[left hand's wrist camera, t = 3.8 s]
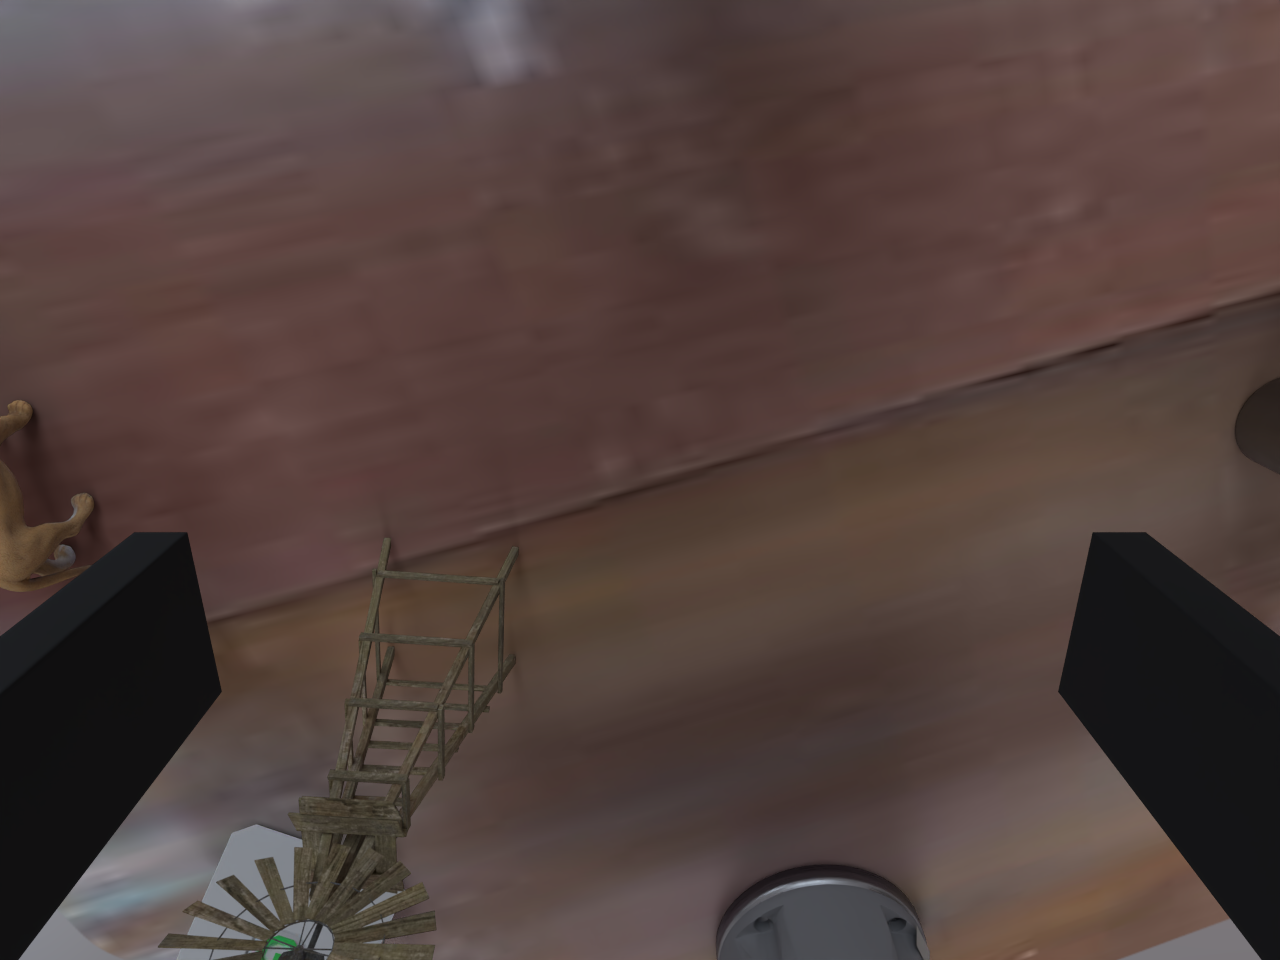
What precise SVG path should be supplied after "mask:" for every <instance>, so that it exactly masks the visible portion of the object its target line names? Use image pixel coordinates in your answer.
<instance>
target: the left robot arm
mask: <svg viewBox="0 0 1280 960" xmlns="http://www.w3.org/2000/svg"><path fill="white" fill-rule="evenodd" d="M221 692H222V691H221V686H220V681H219V677H218V672H217V668H216V663H215V658H214V654H213V649H212V645H211V640H210V635H209V631H208V626H207V621H206V617H205V612H204V608H203V603H202V598H201V594H200V589H199V584H198V580H197V575H196V571H195V566H194V561H193V557H192V552H191V548H190V543H189V538H188V534H187V532H134V533H133V534H132V535H130V536H129V537H128V538H127V539H125V540H124V541H123V542H121V543H120V544H119V545H118V546H116V547H115V548H114V549H112V550H111V551H110V552H108V553H107V554H106V555H105V556H103V557H102V558H101V559H99V560H98V561H97V562H96V563H94V564H93V565H92V566H90V567H89V568H88V569H87V570H85V571H84V572H83V573H81V574H80V575H79V576H78V577H76V578H75V579H74V580H72V581H71V582H70V583H69V584H67V585H66V586H65V587H63V588H62V589H61V590H59V591H58V592H57V593H56V594H54V595H53V596H52V597H50V598H49V599H48V600H47V601H45V602H44V603H43V604H41V605H40V606H39V607H38V608H36V609H35V610H34V611H32V612H31V613H30V614H29V615H27V616H26V617H25V618H23V619H22V620H21V621H20V622H18V623H17V624H16V625H14V626H13V627H12V628H10V629H9V630H8V631H7V632H5V633H4V634H3V635H1V636H0V960H19V958H20V957H21V956H22V954H23V953H24V952H25V950H26V949H27V948H28V946H29V945H30V944H31V942H32V941H33V940H34V938H35V937H36V936H37V934H38V933H39V932H40V931H41V929H42V928H43V927H44V925H45V924H46V923H47V921H48V920H49V919H50V917H51V916H52V915H53V913H54V912H55V911H56V909H57V908H58V907H59V906H60V904H61V903H62V902H63V900H64V899H65V898H66V896H67V895H68V894H69V892H70V891H71V890H72V888H73V887H74V886H75V884H76V883H77V882H78V880H79V879H80V878H81V877H82V875H83V874H84V873H85V871H86V870H87V869H88V867H89V866H90V865H91V863H92V862H93V861H94V859H95V858H96V857H97V855H98V854H99V853H100V851H101V850H102V849H103V848H104V846H105V845H106V844H107V842H108V841H109V840H110V838H111V837H112V836H113V834H114V833H115V832H116V830H117V829H118V828H119V826H120V825H121V824H122V822H123V821H124V820H125V819H126V817H127V816H128V815H129V813H130V812H131V811H132V809H133V808H134V807H135V805H136V804H137V803H138V801H139V800H140V799H141V797H142V796H143V795H144V793H145V792H146V791H147V790H148V788H149V787H150V786H151V784H152V783H153V782H154V780H155V779H156V778H157V776H158V775H159V774H160V772H161V771H162V770H163V768H164V767H165V766H166V764H167V763H168V762H169V761H170V759H171V758H172V757H173V755H174V754H175V753H176V751H177V750H178V749H179V747H180V746H181V745H182V743H183V742H184V741H185V739H186V738H187V737H188V735H189V734H190V733H191V732H192V730H193V729H194V728H195V726H196V725H197V724H198V722H199V721H200V720H201V718H202V717H203V716H204V714H205V713H206V712H207V710H208V709H209V708H210V706H211V705H212V704H213V703H214V701H215V700H216V699H217V697H218V696H219V695H220V693H221ZM1058 692H1059V693H1060V695H1061V696H1062V697H1063V699H1064V700H1065V701H1066V703H1067V704H1068V705H1069V706H1070V708H1071V709H1072V710H1073V712H1074V713H1075V714H1076V716H1077V717H1078V718H1079V720H1080V721H1081V722H1082V724H1083V725H1084V726H1085V728H1086V729H1087V730H1088V732H1089V733H1090V734H1091V735H1092V737H1093V738H1094V739H1095V741H1096V742H1097V743H1098V745H1099V746H1100V747H1101V749H1102V750H1103V751H1104V753H1105V754H1106V755H1107V757H1108V758H1109V759H1110V761H1111V762H1112V763H1113V764H1114V766H1115V767H1116V768H1117V770H1118V771H1119V772H1120V774H1121V775H1122V776H1123V778H1124V779H1125V780H1126V782H1127V783H1128V784H1129V786H1130V787H1131V788H1132V790H1133V791H1134V792H1135V793H1136V795H1137V796H1138V797H1139V799H1140V800H1141V801H1142V803H1143V804H1144V805H1145V807H1146V808H1147V809H1148V811H1149V812H1150V813H1151V815H1152V816H1153V817H1154V819H1155V820H1156V821H1157V822H1158V824H1159V825H1160V826H1161V828H1162V829H1163V830H1164V832H1165V833H1166V834H1167V836H1168V837H1169V838H1170V840H1171V841H1172V842H1173V844H1174V845H1175V846H1176V848H1177V849H1178V850H1179V851H1180V853H1181V854H1182V855H1183V857H1184V858H1185V859H1186V861H1187V862H1188V863H1189V865H1190V866H1191V867H1192V869H1193V870H1194V871H1195V873H1196V874H1197V875H1198V877H1199V878H1200V879H1201V880H1202V882H1203V883H1204V884H1205V886H1206V887H1207V888H1208V890H1209V891H1210V892H1211V894H1212V895H1213V896H1214V898H1215V899H1216V900H1217V902H1218V903H1219V904H1220V906H1221V907H1222V908H1223V909H1224V911H1225V912H1226V913H1227V915H1228V916H1229V917H1230V919H1231V920H1232V921H1233V923H1234V924H1235V925H1236V927H1237V928H1238V929H1239V931H1240V932H1241V933H1242V934H1243V936H1244V937H1245V938H1246V940H1247V941H1248V942H1249V944H1250V945H1251V946H1252V948H1253V949H1254V950H1255V952H1256V953H1257V954H1258V956H1259V957H1260V958H1261V960H1280V636H1279V635H1277V634H1276V633H1275V632H1273V631H1272V630H1271V629H1270V628H1268V627H1267V626H1266V625H1264V624H1263V623H1262V622H1260V621H1259V620H1258V619H1257V618H1255V617H1254V616H1253V615H1251V614H1250V613H1249V612H1248V611H1246V610H1245V609H1244V608H1242V607H1241V606H1240V605H1239V604H1237V603H1236V602H1235V601H1233V600H1232V599H1231V598H1230V597H1228V596H1227V595H1226V594H1224V593H1223V592H1222V591H1221V590H1219V589H1218V588H1217V587H1215V586H1214V585H1213V584H1211V583H1210V582H1209V581H1208V580H1206V579H1205V578H1204V577H1202V576H1201V575H1200V574H1199V573H1197V572H1196V571H1195V570H1193V569H1192V568H1191V567H1190V566H1188V565H1187V564H1186V563H1184V562H1183V561H1182V560H1181V559H1179V558H1178V557H1177V556H1175V555H1174V554H1173V553H1172V552H1170V551H1169V550H1168V549H1166V548H1165V547H1164V546H1162V545H1161V544H1160V543H1159V542H1157V541H1156V540H1155V539H1153V538H1152V537H1151V536H1150V535H1148V534H1147V533H1146V532H1093V534H1092V538H1091V543H1090V548H1089V552H1088V557H1087V561H1086V566H1085V571H1084V575H1083V580H1082V584H1081V589H1080V594H1079V598H1078V603H1077V608H1076V612H1075V617H1074V621H1073V626H1072V631H1071V635H1070V640H1069V645H1068V649H1067V654H1066V658H1065V663H1064V668H1063V672H1062V677H1061V681H1060V686H1059V691H1058ZM716 954H717V960H930V951H929V949H928V947H927V943H926V939H925V936H924V932H923V930H922V927H921V924H920V921H919V919H918V916H917V913H916V911H915V909H914V907H913V905H912V904H911V902H910V901H909V899H908V898H907V897H906V896H905V895H904V893H902V892H901V891H900V890H899V889H898V888H897V887H896V886H894V885H893V884H892V883H890V882H889V881H887V880H885V879H884V878H882V877H880V876H877V875H875V874H873V873H870V872H867V871H864V870H861V869H857V868H852V867H847V866H839V865H813V866H804V867H799V868H794V869H790V870H787V871H783V872H780V873H778V874H775V875H773V876H770V877H768V878H766V879H764V880H762V881H760V882H758V883H757V884H755V885H754V886H752V887H750V888H749V889H748V890H746V891H745V892H744V893H743V894H741V895H740V896H739V897H738V898H737V899H736V900H735V901H734V903H733V904H732V905H731V906H730V907H729V909H728V910H727V912H726V913H725V915H724V917H723V919H722V920H721V923H720V926H719V928H718V932H717V938H716Z"/></svg>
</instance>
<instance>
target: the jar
mask: <svg viewBox="0 0 1280 960" xmlns="http://www.w3.org/2000/svg"><path fill="white" fill-rule="evenodd" d="M1235 434H1236V440H1237V444H1238V446H1239V448H1240V450H1241V451H1242V453H1243V454H1244V455H1245V456H1246V457H1248V458H1249V459H1251V460H1253V461H1254V462H1256V463H1258V464H1260V465H1262V466H1264V467H1266V468H1268V469H1270V470H1272V471H1274V472H1276V473H1277V474H1279V475H1280V378H1277V379H1275V380H1273V381H1271V382H1269V383H1267V384H1265V385H1264V386H1262V387H1261V388H1259V389H1258V390H1257V391H1256V392H1255V393H1254V394H1253V395H1252V396H1251V397H1250V398H1249V399H1248V400H1247V401H1246V403H1245V404H1244V406H1243V407H1242V409H1241V411H1240V413H1239V416H1238V418H1237V422H1236V429H1235Z"/></svg>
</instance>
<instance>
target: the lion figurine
mask: <svg viewBox="0 0 1280 960" xmlns="http://www.w3.org/2000/svg"><path fill="white" fill-rule="evenodd" d="M8 410H9V414H8V415H7V416H0V445H1V444H2V442H3V441H4V440H5V439H6V438H7V437H9V436H10V435H12V434H13V433H15V432H16V431H18V430H21V429H22V428H23V427H24V426H25V425H26V424H27V423H28V422H29V420H30V419H31V417H32V413H33V410H32V407H31V405H30V404H28V403H27V402H25V401H21V400H16V401H13V402H12V403H11V404H9V405H8ZM71 504H72V506H73V508H74V513H73V515H72V517H71V518H70V519H69V520H67V521H65V522H58V523H45V524H42V525H39V526H36V527H28V526H27V525H26V524H25V522H24V505H23V496H22V491H21V489H20V487H19V484H18V482H17V480H16V478H15V476H14V475H13V473H12V472H11V470H10V469H9V468H8V467H7V466H6V464H5V463H4V462H3V461H2V460H1V459H0V587H1V588H3V589H7V590H10V591H17V592H25V591H34V590H38V589H41V588H44V587H48V586H50V585H53V584H56V583H59V582H61V581H64V580H67V579H69V578H72V577H75V576H79V575H80V574H81V573H83V572H84V571H85V570H87V569H88V568H89V567H90V566H92V565H87V566H82V567H77V568H72V569H69V570H66V569H68V568H69V567H71V566H72V565H73V564H74V562H75V559H76V555H75V552H74V551H73V549H72V548H71V547H70V546H67V545H59V544H60V542H62V541H63V540H64V539H66V538H69V537H73V536H76V535H77V534H78V533H79V532H80V530H81V527H82V526H83V524H84V522H85V520H86V519H87V518H88V516H89V515H90V514H91V512H92V511H93V508H94V500H93V497H92V496H90V495H89V494H87V493H80V494H77V495H75V496H74V497H72V499H71ZM58 545H59V546H58ZM54 550H55V551H54ZM53 551H54V557H55V559H56V560H50V559H48V557H49V556H50V555H51V554H52V553H53ZM63 570H65V571H63ZM32 573H35V574H39V575H41V577H37V578H33V579H30V575H31V574H32Z"/></svg>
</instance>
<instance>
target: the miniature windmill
mask: <svg viewBox="0 0 1280 960" xmlns="http://www.w3.org/2000/svg"><path fill="white" fill-rule="evenodd" d="M390 548H391V538H384V541H383V545H382V550H381V555H380V560H379V564H378V569H373V570H372V575H373V593H372V598H371V603H370V607H369V612H368V617H367V622H366V626H365V631H364V633H361V634H360V636H359V660H358V665H357V669H356V674H355V679H354V684H353V689H352V693H351V698H350V699H346V700H345V721H346V722H345V727H344V731H343V736H342V741H341V746H340V751H339V755H338V760H337V765H336V770H330V772H329V774H328V780H329V792H330V798H325V797H309V796H302V798H299V810H300V813H288V816H289V817H290V819H291V821H292V823H293V825H294V826H295V828H296V830H297V831H301V833H302V844H303V847H294V885H293V886H289V887H286V888H284V886H283V883H282V880H281V878H280V875H279V872H278V869H277V866H276V864H275V861H274V858H273V857H269V858H263V859H258V860H254V862H255V864H256V866H257V869H258V871H259V873H260V876H261V878H262V880H263V883H264V885H265V887H266V889H267V892H268V895H267V896H265V897H263V898H261V899H258V898H257V897H256V896H255V895H254V894H253V893H252V892H251V891H250V890H249V889H248V888H247V887H246V886H245V885H244V884H243V883H242V882H241V881H240V880H239V879H238V878H237V877H236V876H235V875H231V876H229V877H227V878H224V879H222V880H219V881H217V882H216V883H217V884H218V885H219V886H220V887H221V888H223V889H224V890H225V891H226V892H227V893H228V894H229V895H230V896H232V897H233V898H234V899H235V900H236V901H237V902H238V903H240V904H241V905H242V906H243V907H244V908H245V910H243V911H242V912H241V913H240V914H239V915H238V916H234V915H231V914H229V913H226V912H224V911H222V910H219V909H217V908H214V907H212V906H210V905H207V904H205V903H202V902H200V901H197V902H195V903H194V904H192V905H191V906H189V907H188V908H186V909H185V910H184V911H183V912H184V913H187V914H190V915H192V916H195V917H198V918H201V919H204V920H206V921H209V922H212V923H215V924H218V925H220V926H223V927H226V928H225V930H224V931H223V932H222V934H221V935H220V937H207V936H194V935H181V934H168V935H167V936H166V937H165V939H164V940H163V941H162V942H161V943H160V945H159V946H158V948H186V949H212V952H211V955H210V958H209V960H211V957H212V954H213V951H214V950H242V951H258V952H252V953H247V954H241V955H236V956H230V957H225V958H220V959H214V960H264V957H263V956H264V953H265V949H284V950H291V951H286V952H283V953H282V954H281V955H280V957H279V958H278V960H325V959H324V956H327V959H326V960H432V958H433V953H434V948H435V945H415V944H384V941H385V939H389V938H394V937H400V936H406V935H411V934H417V933H423V932H429V931H434V930H436V921H435V911H431V912H426V913H422V914H418V915H413V916H409V917H405V918H400V919H396V920H392V921H387V922H383V918H385V917H387V916H390V915H392V914H394V913H397V912H399V911H401V910H404V909H406V908H408V907H411V906H413V905H415V904H418V903H420V902H422V901H425V900H427V899H429V896H428V894H427V892H426V890H425V888H424V885H423V883H422V882H421V883H419V884H417V885H415V886H413V887H411V888H409V889H407V890H405V891H404V885H403V879H404V878H406V877H407V876H409V875H410V874H411V873H410V871H409V870H408V869H407V868H406V867H405V866H404V865H403V864H402V863H401V862H400V861H399V862H397V854H396V838H397V837H406V836H407V832H408V830H409V828H410V826H411V823H410V817H411V816H412V814H413V813H414V811H415V810H416V808H417V807H418V806H419V804H420V803H421V801H422V800H423V798H424V797H425V795H426V794H427V792H428V791H429V789H430V788H431V786H432V785H433V784H434V782H435V781H436V779H437V778H438V780H441V781H442V780H443V778H444V776H445V766H446V764H447V763H448V761H449V760H450V759H451V757H452V756H453V754H454V753H455V752H458V749H459V745H460V744H461V742H462V741H463V739H464V738H465V737H466V735H467V734H468V732H469V733H472V731H473V729H474V723H475V722H476V720H477V719H478V717H479V716H480V715H481V713H482V712H489V710H490V706H487V704H488V703H489V701H490V700H491V698H492V697H493V695H494V694H495V692H496V691H497V690H498V693H501V692H502V685H503V681H504V679H505V678H506V676H507V675H508V673H509V672H510V670H511V669H512V668H513V666H514V665H515V655H512V654H509V656H508V657H507V659H506V660H505V662H504V663H503V640H504V595H505V581H506V579H507V577H508V575H509V573H510V571H511V569H512V567H513V565H514V563H515V561H516V559H517V557H518V551H519V548H518V547H513V546H512V548H511V550H510V552H509V554H508V556H507V558H506V560H505V562H504V564H503V566H502V568H501V570H500V572H499V574H498V576H497V578H486V577H472V576H457V575H443V574H428V573H414V572H399V571H386V568H387V563H388V558H389V553H390ZM384 578H398V579H412V580H427V581H441V582H456V583H470V584H485V585H493V586H492V588H491V590H490V592H489V594H488V596H487V598H486V600H485V602H484V604H483V606H482V608H481V610H480V612H479V614H478V616H477V618H476V620H475V622H474V624H473V626H472V628H471V630H470V632H469V634H468V636H467V638H466V639H451V638H436V637H421V636H406V635H391V634H379V612H378V608H379V603H380V598H381V593H382V588H383V583H384ZM499 593H500V596H499V647H498V671H497V673H496V674H495V676H494V677H493V679H492V680H491V681H490V683H489V684H488V686H483V685H474V644H475V642H476V640H477V638H478V636H479V633H480V631H481V629H482V627H483V625H484V623H485V621H486V619H487V617H488V615H489V613H490V611H491V609H492V607H493V605H494V603H495V601H496V599H497V597H498V595H499ZM374 629H375V633H374ZM372 641H375V646H376V670H377V685H376V688H375V691H374V694H373V698H372V699H368V698H367V694H366V669H367V664H368V659H369V654H370V649H371V644H372ZM380 642H391V643H406V644H421V645H436V646H451V647H462V648H461V649H460V651H459V653H458V655H457V657H456V659H455V661H454V663H453V665H452V667H451V669H450V671H449V673H448V675H447V677H446V679H445V681H444V683H437V682H422V681H406V680H391V679H388V676H389V673H390V669H391V666H392V662H393V659H394V655H395V653H394V646H392V647H388V648H387V652H386V655H385V658H384V661H383V665H382V668H381V661H380ZM468 656H469V671H468V684H455V682H456V680H457V678H458V676H459V674H460V672H461V670H462V668H463V666H464V664H465V662H466V660H467V658H468ZM386 685H393V686H408V687H424V688H439V689H440V691H439V693H438V695H437V697H436V699H435V701H434V703H433V702H417V701H402V700H386V699H382V697H383V694H384V690H385V687H386ZM452 689H454V690H468V705H464V704H448V703H445V702H446V700H447V698H448V696H449V694H450V692H451V690H452ZM474 691H483V693H482V694H481V696H480V697H479V698H478V700H477V701H476V703H475V704H474ZM361 695H362V698H361ZM359 707H362V715H363V726H364V728H363V731H362V734H361V737H360V741H359V744H358V747H357V751H356V754H355V757H354V759H353V741H352V739H353V734H354V729H355V724H356V719H357V714H358V709H359ZM367 708H369V711H368V714H367ZM379 708H381V709H397V710H413V711H428V712H429V713H428V715H427V717H426V719H425V721H424V722H422V721H404V720H386V719H376V718H377V715H378V711H379ZM444 710H459V711H468V714H467V716H466V717H465V718H464V720H463V721H462V723H461V724H459V723H444ZM437 718H438V722H436V720H437ZM374 726H390V727H409V728H421V729H420V731H419V733H418V735H417V737H416V739H415V741H414V743H406V742H386V741H370V739H371V735H372V732H373V729H374ZM432 729H438V744H425V742H426V740H427V738H428V736H429V734H430V732H431V730H432ZM444 729H445V730H456V731H455V733H454V734H453V735H452V737H451V738H450V740H449V741H448V743H447V744H446V745H445V735H444ZM368 748H381V749H401V750H410V751H409V753H408V755H407V757H406V759H405V761H404V762H403V764H402V766H382V765H363V763H364V760H365V756H366V753H367V749H368ZM421 751H438V757H437V758H436V760H435V761H434V762H433V764H432V765H431V767H430V768H426V767H414V765H415V763H416V761H417V759H418V757H419V755H420V753H421ZM347 765H348V771H346V770H347ZM409 775H424V777H423V778H422V779H421V781H420V782H419V784H418V785H417V787H416V788H415V789H414V791H413V792H412V794H411V795H410V786H409V779H408V777H409ZM344 781H347V784H346V787H345V790H344V794H343V797H342V799H341V795H342V790H343V785H344ZM358 782H369V783H385V784H392V786H391V788H390V790H389V792H388V794H387V796H386V797H375V796H354V795H355V791H356V788H357V784H358ZM401 791H402V798H398V797H399V795H400V793H401ZM396 806H402V808H401V809H400V811H398V809H397V807H396ZM343 834H347V836H346V838H345V841H344V843H343V845H340V844H341V840H342V837H343ZM366 835H367V836H366ZM365 837H366V838H365ZM374 845H375V846H374ZM373 847H374V848H373ZM292 887H293V911H292V909H291V906H290V903H289V900H288V897H287V895H286V892H285V889H288V888H292ZM361 889H363V890H362V891H361ZM309 891H310V894H309ZM360 891H361V892H360ZM398 891H402V892H400V893H398ZM385 892H389V893H395V894H396V895H394V896H392V897H390V898H388V899H386V900H384V901H382V902H380V903H378V904H376V905H375V904H374V902H373V901H374V900H375V899H377V898H378V897H380V896H381V895H382V894H384V893H385ZM397 893H398V894H397ZM268 896H270V899H271V901H272V903H273V906H274V908H275V910H276V913H277V915H278V917H279V919H278V918H277V917H276V916H275V915H274V914H273V913H272V912H271V911H270V910H269V909H268V908H267V907H266V906H265V905H264V904H263V903H262V902H261V900H262V899H264V898H266V897H268ZM309 899H310V901H311V902H310V904H309ZM370 903H372V904H373V906H371V907H369V908H367V909H365V910H363V911H361V912H359V911H360V910H362V909H363V908H364V907H366V906H367V905H369V904H370ZM308 904H309V907H308ZM246 910H247V911H249V912H250V913H251V914H252V915H253V916H254V917H255V918H256V919H258V920H259V921H260V922H261V923H262V924H263V925H264V926H265V927H267V928H268V929H269V930H267V929H265V928H263V927H260V926H258V925H255V924H253V923H251V922H248V921H246V920H243V919H241V918H239V916H240V915H241V914H242V913H243V912H245V911H246ZM358 912H359V913H358ZM356 913H357V914H356ZM307 919H309V920H307ZM380 919H381V920H382V923H379V924H374V925H370V926H366V925H369V924H371V923H373V922H376V921H378V920H380ZM296 921H297V922H296ZM300 922H304V926H303V929H302V933H301V937H300V941H299V945H297V946H296V947H295V946H293V945H290V944H287V943H285V942H282V941H280V940H277V939H275V938H273V937H274V936H275V935H276V934H277V933H278V932H280V931H281V930H283V929H285V928H286V927H288V926H290V925H293V924H296V923H300ZM306 922H315V923H314V924H313V926H312V928H311V929H310V931H309V933H308V935H307V936H306V938H305V940H304V941H303V943H302V945H300V943H301V939H302V935H303V931H304V927H305V923H306ZM315 924H317V925H316V928H315V930H314V933H313V935H312V938H311V940H310V942H309V945H308V947H307V948H304V947H303V944H304V943H305V941H306V939H307V937H308V936H309V934H310V932H311V931H312V929H313V927H314V926H315ZM285 925H287V926H285ZM323 926H325V927H327V928H328V930H329V931H330V933H331V934H332V938H333V945H332V949H318V948H314V947H315V945H316V943H317V940H318V938H319V935H320V933H321V930H322V928H323ZM364 926H366V927H364ZM227 928H229V929H232V930H234V931H237V932H240V933H243V934H246V935H248V936H251V937H254V938H257V939H260V940H262V941H259V940H246V939H233V938H221V936H222V935H223V934H224V932H225V931H226V929H227ZM276 931H277V932H276ZM275 932H276V933H275ZM333 935H334V936H333ZM268 939H269V941H267V940H268ZM271 939H272V940H275V941H277V942H280V943H282V944H285V945H287V946H290V947H293V948H278V947H267V945H268V944H269V942H270V940H271ZM377 940H383V944H374V943H366V942H372V941H377ZM263 949H264V951H262V950H263ZM313 950H330V951H331V952H330V954H329V955H326V954H322V953H319V952H316V951H313Z"/></svg>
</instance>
